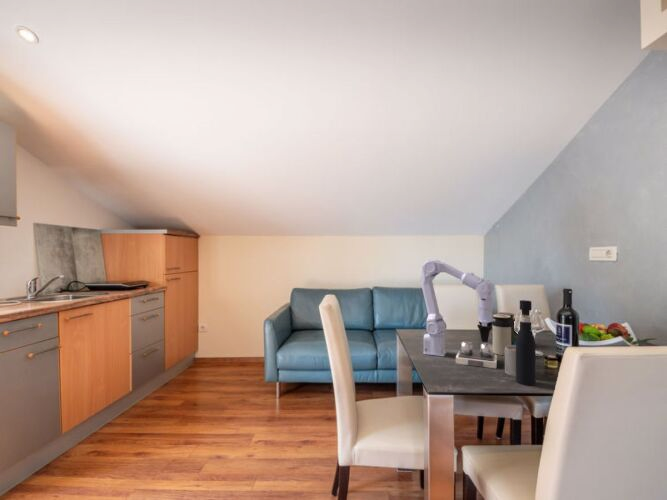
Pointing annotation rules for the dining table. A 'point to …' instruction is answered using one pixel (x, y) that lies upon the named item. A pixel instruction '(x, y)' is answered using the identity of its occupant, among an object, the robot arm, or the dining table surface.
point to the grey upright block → (510, 360)
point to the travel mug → (501, 333)
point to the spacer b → (486, 350)
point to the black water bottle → (525, 348)
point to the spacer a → (467, 348)
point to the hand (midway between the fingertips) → (485, 340)
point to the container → (513, 333)
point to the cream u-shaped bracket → (476, 360)
